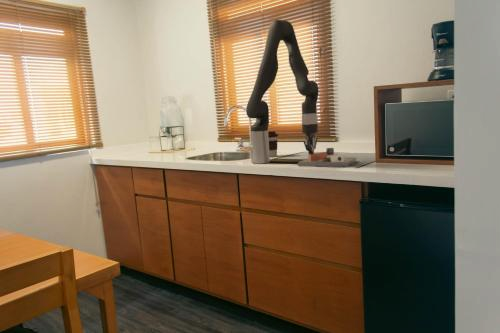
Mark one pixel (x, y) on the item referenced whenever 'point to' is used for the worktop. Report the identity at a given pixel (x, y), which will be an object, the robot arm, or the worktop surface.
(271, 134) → the coffee cup
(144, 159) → the worktop surface
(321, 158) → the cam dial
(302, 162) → the stand base
